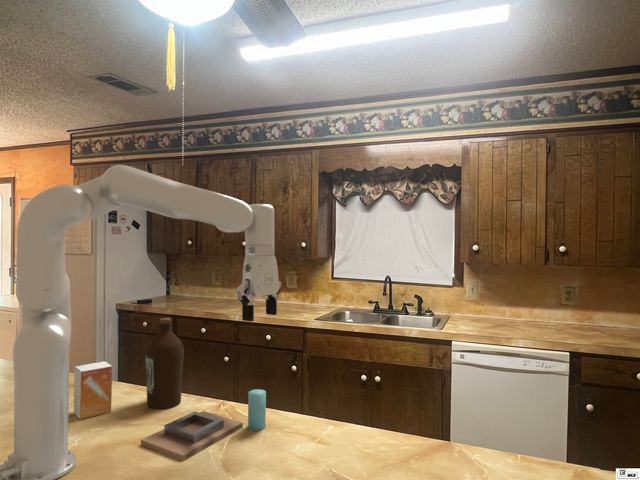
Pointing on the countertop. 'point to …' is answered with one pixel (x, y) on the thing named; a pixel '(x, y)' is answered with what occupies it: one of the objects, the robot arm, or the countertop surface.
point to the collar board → (191, 434)
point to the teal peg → (256, 409)
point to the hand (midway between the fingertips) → (260, 317)
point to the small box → (92, 389)
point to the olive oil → (164, 368)
